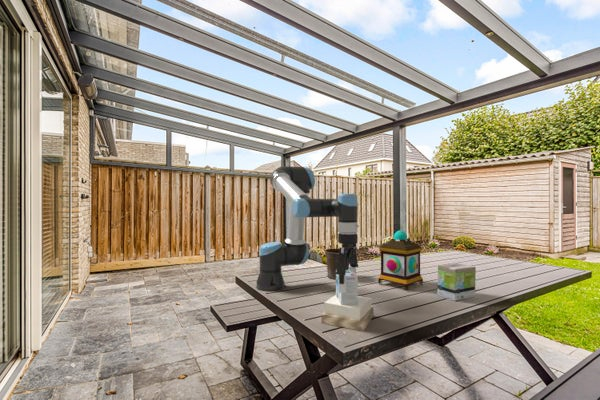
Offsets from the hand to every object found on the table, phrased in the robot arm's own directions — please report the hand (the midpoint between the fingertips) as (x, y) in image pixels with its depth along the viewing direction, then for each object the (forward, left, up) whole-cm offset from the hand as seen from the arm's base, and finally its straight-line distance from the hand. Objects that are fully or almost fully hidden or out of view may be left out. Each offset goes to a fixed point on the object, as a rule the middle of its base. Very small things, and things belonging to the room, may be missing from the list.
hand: (347, 287), depth 117 cm
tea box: (+39, +50, -12) cm, 65 cm away
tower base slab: (0, 0, -13) cm, 13 cm away
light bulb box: (0, 0, -5) cm, 5 cm away
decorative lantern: (+12, +59, -12) cm, 61 cm away
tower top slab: (0, 0, -9) cm, 9 cm away
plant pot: (-24, +59, -12) cm, 65 cm away
